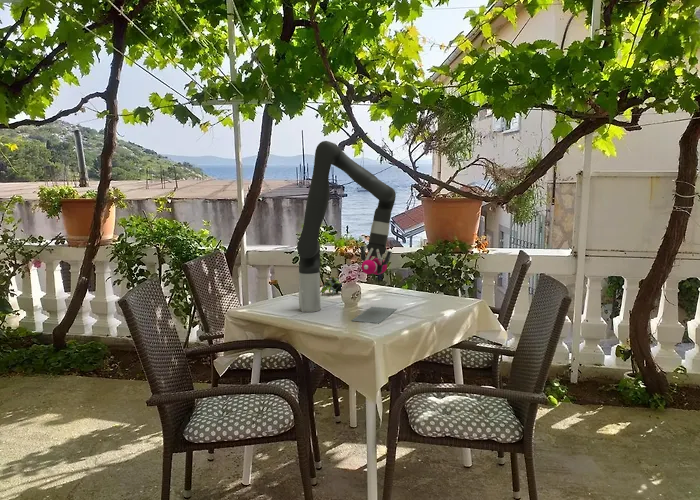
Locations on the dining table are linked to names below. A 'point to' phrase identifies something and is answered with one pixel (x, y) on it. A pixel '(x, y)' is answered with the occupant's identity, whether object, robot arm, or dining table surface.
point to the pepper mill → (372, 266)
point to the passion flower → (332, 285)
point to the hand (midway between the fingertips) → (372, 272)
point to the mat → (375, 315)
